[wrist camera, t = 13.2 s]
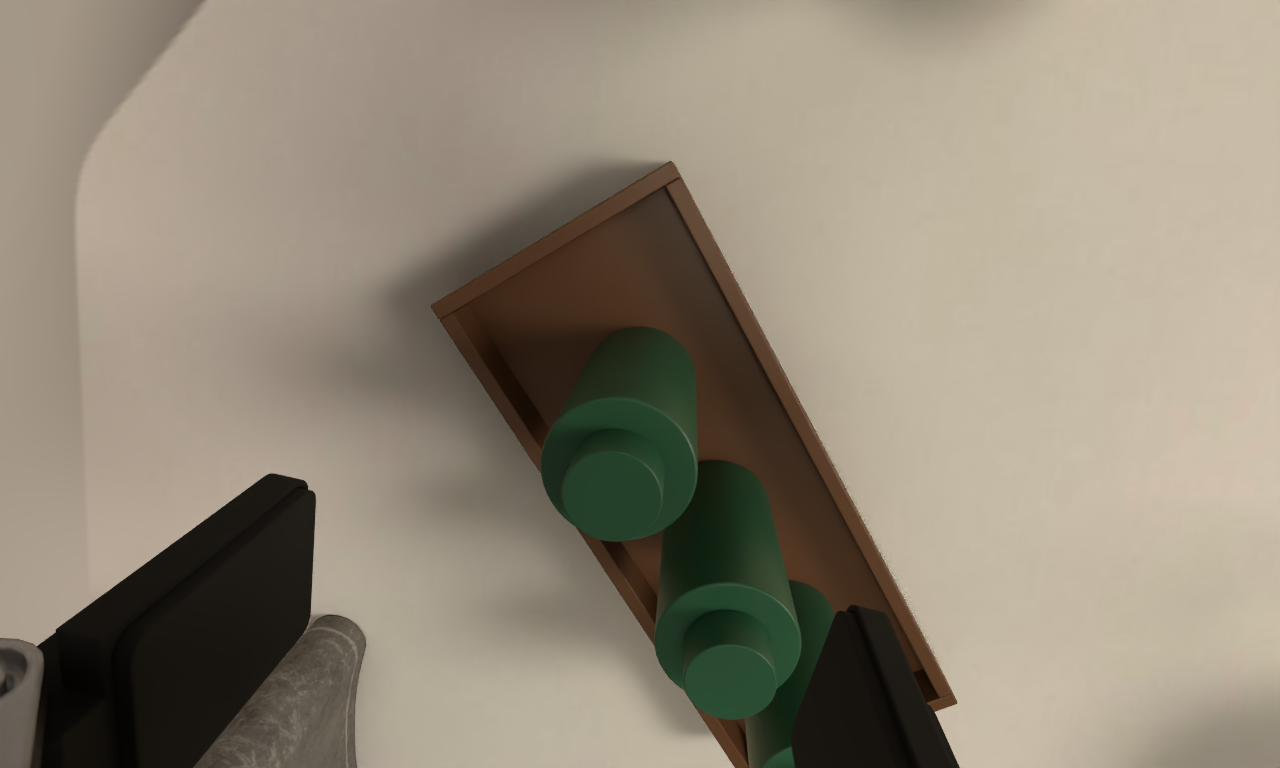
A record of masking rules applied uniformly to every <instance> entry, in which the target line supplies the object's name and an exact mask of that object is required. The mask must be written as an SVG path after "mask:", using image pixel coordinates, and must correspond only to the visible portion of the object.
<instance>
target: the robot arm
mask: <svg viewBox="0 0 1280 768" xmlns="http://www.w3.org/2000/svg"><path fill="white" fill-rule="evenodd" d="M315 507H316V495H315V493H314V492H313V491H310V490H308V485H307V483H306V482H305V481H304V480H300V479H296V478H291V477H287V476H283V475H278V474H268V475H266V476H264V477H263V478H262V479H260V480H259V481H258V482H256V483H255V484H254V485H252V486H251V487H249V488H248V489H247V490H245V491H244V492H243V493H241V494H240V495H239V496H237V497H236V498H234V499H233V500H232V501H230V502H229V503H228V504H226V505H225V506H224V507H222V508H221V509H219V510H218V511H217V512H215V513H214V514H213V515H211V516H210V517H209V518H207V519H206V520H204V521H203V522H202V523H200V524H199V525H198V526H196V527H195V528H194V529H192V530H191V531H189V532H188V533H187V534H185V535H184V536H183V537H181V538H180V539H179V540H177V541H176V542H174V543H173V544H172V545H170V546H169V547H168V548H166V549H165V550H164V551H162V552H161V553H159V554H158V555H157V556H155V557H154V558H153V559H151V560H150V561H149V562H147V563H146V564H144V565H143V566H142V567H140V568H139V569H138V570H136V571H135V572H134V573H132V574H131V575H129V576H128V577H127V578H125V579H124V580H123V581H121V582H120V583H119V584H117V585H116V586H114V587H113V588H112V589H110V590H109V591H108V592H106V593H105V594H104V595H102V596H101V597H99V598H98V599H97V600H95V601H94V602H93V603H91V604H90V605H89V606H87V607H86V608H84V609H83V610H82V611H80V612H79V613H78V614H76V615H75V616H74V617H72V618H71V619H70V620H68V621H67V622H65V623H64V624H63V625H61V626H60V627H59V628H57V629H56V633H54V634H53V635H52V636H50V637H49V638H48V639H46V640H45V641H44V642H42V643H41V644H39V645H38V646H37V647H36V646H35V645H34V644H32V643H29V642H26V641H23V640H20V639H6V638H0V768H193V767H194V766H195V765H196V764H197V762H198V761H199V760H200V759H201V758H202V756H203V755H204V754H205V753H206V752H207V750H208V749H209V748H210V747H211V745H212V744H213V743H214V742H215V741H216V739H217V738H218V737H219V736H220V735H221V733H222V732H223V731H224V730H225V728H226V727H227V726H228V725H229V724H230V722H231V721H232V720H233V719H234V718H235V716H236V715H237V714H238V713H239V711H240V710H241V709H242V708H243V707H244V705H245V704H246V703H247V702H248V701H249V699H250V698H251V697H252V696H253V694H254V693H255V692H256V691H257V690H258V688H259V687H260V686H261V685H262V684H263V682H264V681H265V680H266V679H267V677H268V676H269V675H270V674H271V673H272V671H273V670H274V669H275V668H276V666H277V665H278V664H279V663H280V662H281V660H282V659H283V658H284V657H285V656H286V654H287V653H288V652H289V651H290V649H291V648H292V647H293V646H294V645H295V643H296V642H297V641H298V640H299V639H300V637H301V636H302V634H303V633H304V631H305V629H306V627H307V625H308V622H309V619H310V613H311V594H312V572H313V550H314V529H315ZM791 747H792V753H793V759H794V765H795V768H960V767H959V765H958V763H957V761H956V759H955V756H954V754H953V752H952V750H951V747H950V745H949V743H948V741H947V739H946V736H945V734H944V732H943V730H942V727H941V725H940V723H939V721H938V718H937V716H936V714H935V712H934V711H933V709H932V707H931V706H930V705H929V704H928V703H926V701H925V699H924V696H923V694H922V692H921V689H920V687H919V685H918V683H917V680H916V678H915V676H914V674H913V671H912V669H911V667H910V664H909V662H908V660H907V658H906V655H905V653H904V651H903V649H902V646H901V644H900V642H899V640H898V637H897V635H896V633H895V630H894V628H893V626H892V624H891V621H890V619H889V617H888V615H887V614H886V613H885V612H883V611H880V610H875V609H871V608H867V607H862V606H858V605H850V606H849V607H848V608H847V610H846V611H841V610H840V611H838V612H837V613H836V615H835V617H834V619H833V622H832V624H831V627H830V630H829V632H828V635H827V637H826V640H825V642H824V645H823V648H822V650H821V653H820V655H819V658H818V661H817V663H816V666H815V668H814V671H813V673H812V676H811V679H810V681H809V684H808V686H807V689H806V692H805V694H804V697H803V699H802V702H801V704H800V707H799V710H798V712H797V715H796V717H795V720H794V723H793V726H792V732H791Z"/></svg>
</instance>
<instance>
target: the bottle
mask: <svg viewBox="0 0 1280 768" xmlns="http://www.w3.org/2000/svg"><path fill="white" fill-rule="evenodd" d="M540 468H541V476H542V480H543V484H544V487H545V490H546V492H547V495H548V497H549V498H550V500H551V502H552V503H553V505H554V506H555V507H556V509H557V510H558V511H559V512H560V513H561V515H562V516H563V517H564V518H565V519H567V520H568V521H569V522H570V523H572V524H573V525H574V526H576V527H577V528H579V529H580V530H581V531H582V532H584V533H586V534H587V535H589V536H591V537H593V538H596V539H599V540H604V541H611V542H619V541H626V540H633V539H640V538H644V537H647V536H650V535H653V534H655V533H658V532H659V531H661V530H663V529H665V528H666V527H668V526H669V525H670V524H672V523H673V522H674V521H675V520H676V519H678V518H679V517H680V516H681V514H682V513H683V512H684V511H685V509H686V508H687V506H688V505H689V503H690V501H691V499H692V497H693V495H694V492H695V488H696V485H697V478H698V448H697V395H696V372H695V367H694V364H693V361H692V359H691V357H690V355H689V353H688V352H687V350H686V349H685V348H684V347H683V345H682V344H681V343H680V342H679V341H677V340H676V339H675V338H674V337H672V336H671V335H669V334H667V333H665V332H663V331H661V330H658V329H654V328H650V327H631V328H626V329H623V330H620V331H618V332H616V333H613V334H612V335H610V336H609V337H607V338H606V339H605V340H604V341H603V342H602V343H601V344H600V345H599V346H598V347H597V349H596V350H595V351H594V353H593V355H592V357H591V358H590V360H589V362H588V364H587V365H586V367H585V369H584V371H583V372H582V374H581V376H580V378H579V380H578V381H577V383H576V385H575V387H574V388H573V390H572V392H571V394H570V395H569V397H568V399H567V401H566V403H565V404H564V406H563V408H562V410H561V411H560V413H559V415H558V417H557V418H556V420H555V422H554V424H553V426H552V427H551V429H550V431H549V433H548V435H547V437H546V439H545V442H544V445H543V448H542V453H541V464H540Z"/></svg>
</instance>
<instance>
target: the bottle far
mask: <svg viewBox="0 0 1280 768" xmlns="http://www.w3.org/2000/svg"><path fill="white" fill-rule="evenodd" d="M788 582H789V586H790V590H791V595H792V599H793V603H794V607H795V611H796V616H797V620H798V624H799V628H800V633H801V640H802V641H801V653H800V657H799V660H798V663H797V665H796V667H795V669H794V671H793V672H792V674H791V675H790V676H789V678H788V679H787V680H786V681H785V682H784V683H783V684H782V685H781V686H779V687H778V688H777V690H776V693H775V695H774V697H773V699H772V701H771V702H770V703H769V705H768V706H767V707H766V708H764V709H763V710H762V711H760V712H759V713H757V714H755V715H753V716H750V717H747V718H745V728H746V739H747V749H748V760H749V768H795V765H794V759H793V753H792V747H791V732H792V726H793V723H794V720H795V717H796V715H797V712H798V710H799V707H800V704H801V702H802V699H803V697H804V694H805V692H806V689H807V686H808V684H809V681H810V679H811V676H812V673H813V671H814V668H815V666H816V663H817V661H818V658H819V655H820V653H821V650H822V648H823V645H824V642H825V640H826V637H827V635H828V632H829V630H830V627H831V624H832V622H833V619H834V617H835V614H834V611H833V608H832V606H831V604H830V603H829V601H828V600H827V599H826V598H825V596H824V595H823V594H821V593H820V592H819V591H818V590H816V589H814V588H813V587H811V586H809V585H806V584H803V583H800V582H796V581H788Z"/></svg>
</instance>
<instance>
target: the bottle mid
mask: <svg viewBox="0 0 1280 768" xmlns="http://www.w3.org/2000/svg"><path fill="white" fill-rule="evenodd" d="M801 641H802V640H801V633H800V628H799V624H798V620H797V616H796V611H795V607H794V603H793V599H792V595H791V590H790V586H789V582H788V578H787V573H786V569H785V565H784V561H783V557H782V552H781V548H780V544H779V540H778V536H777V531H776V527H775V523H774V519H773V515H772V510H771V506H770V502H769V498H768V495H767V492H766V489H765V487H764V486H763V484H762V483H761V481H760V480H759V479H758V478H757V477H756V476H755V475H754V474H753V473H752V472H751V471H749V470H748V469H746V468H744V467H742V466H740V465H738V464H735V463H731V462H727V461H708V462H703V463H699V464H698V478H697V485H696V488H695V492H694V495H693V497H692V499H691V501H690V503H689V505H688V506H687V508H686V509H685V511H684V512H683V513H682V514H681V516H680V517H679V518H678V519H676V520H675V521H674V522H673V523H672V524H670V525H669V526H668V527H666V528H665V529H663V539H662V551H661V563H660V575H659V587H658V600H657V612H656V624H655V636H654V644H655V651H656V655H657V658H658V660H659V663H660V665H661V666H662V668H663V670H664V671H665V673H666V674H667V675H668V677H669V678H670V679H671V680H672V681H673V682H674V683H675V684H676V685H678V686H679V687H680V688H682V689H683V690H685V691H686V694H687V696H688V697H689V699H690V700H691V702H692V703H693V704H694V705H695V706H696V707H697V708H698V709H700V710H701V711H703V712H704V713H706V714H708V715H710V716H713V717H716V718H721V719H729V720H735V719H743V718H747V717H750V716H753V715H755V714H757V713H759V712H760V711H762V710H763V709H764V708H766V707H767V706H768V705H769V703H770V702H771V701H772V699H773V697H774V695H775V693H776V690H777V688H778V687H779V686H781V685H782V684H783V683H784V682H785V681H786V680H787V679H788V678H789V676H790V675H791V674H792V672H793V671H794V669H795V667H796V665H797V663H798V660H799V657H800V653H801Z"/></svg>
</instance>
